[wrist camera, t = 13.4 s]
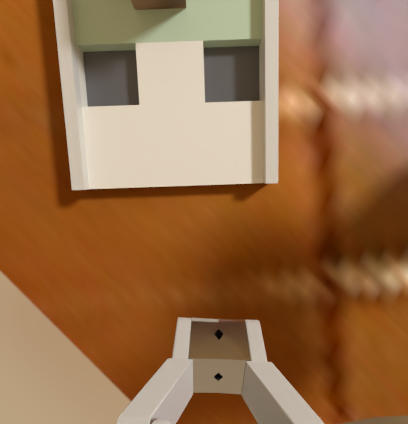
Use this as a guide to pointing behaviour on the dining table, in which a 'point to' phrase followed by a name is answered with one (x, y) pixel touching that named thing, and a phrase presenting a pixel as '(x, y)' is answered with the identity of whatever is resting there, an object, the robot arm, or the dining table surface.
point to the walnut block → (158, 4)
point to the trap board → (169, 92)
